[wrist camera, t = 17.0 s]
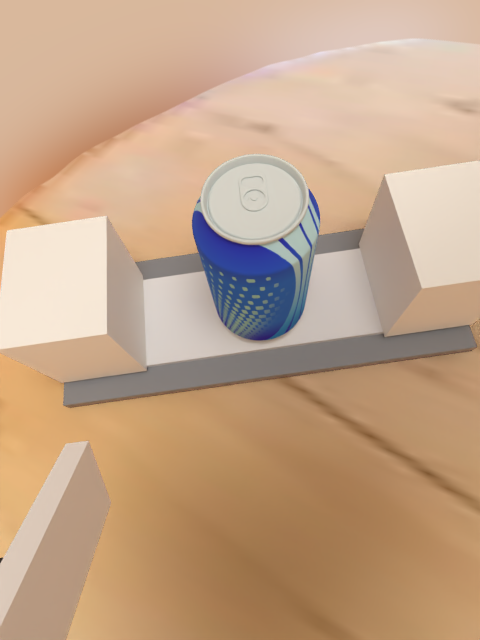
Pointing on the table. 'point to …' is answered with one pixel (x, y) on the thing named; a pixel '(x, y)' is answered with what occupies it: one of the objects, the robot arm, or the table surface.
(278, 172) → the beer can
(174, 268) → the rail board
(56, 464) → the robot arm
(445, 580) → the table surface
